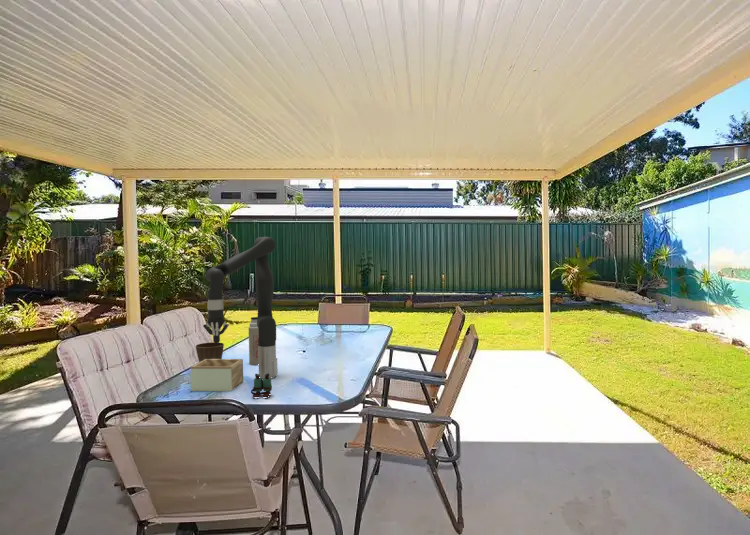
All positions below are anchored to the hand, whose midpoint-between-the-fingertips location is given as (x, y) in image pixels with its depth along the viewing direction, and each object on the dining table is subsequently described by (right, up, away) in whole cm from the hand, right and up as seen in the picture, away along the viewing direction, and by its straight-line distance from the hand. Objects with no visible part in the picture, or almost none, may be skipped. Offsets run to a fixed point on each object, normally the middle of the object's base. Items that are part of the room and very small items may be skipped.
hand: (216, 342), depth 253 cm
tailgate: (0, -22, -7) cm, 24 cm away
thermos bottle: (+8, -20, +49) cm, 54 cm away
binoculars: (+27, -23, -18) cm, 40 cm away
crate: (0, -22, +2) cm, 22 cm away
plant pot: (-12, -22, +29) cm, 38 cm away
